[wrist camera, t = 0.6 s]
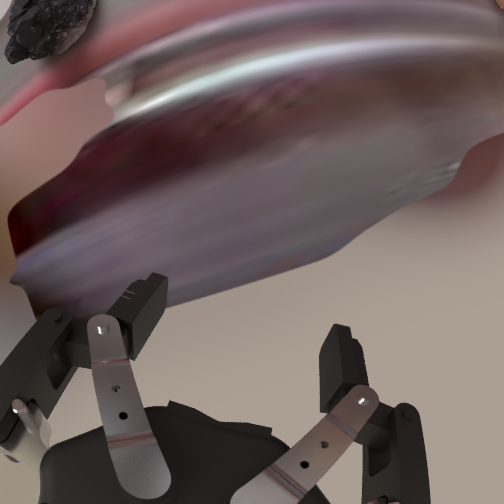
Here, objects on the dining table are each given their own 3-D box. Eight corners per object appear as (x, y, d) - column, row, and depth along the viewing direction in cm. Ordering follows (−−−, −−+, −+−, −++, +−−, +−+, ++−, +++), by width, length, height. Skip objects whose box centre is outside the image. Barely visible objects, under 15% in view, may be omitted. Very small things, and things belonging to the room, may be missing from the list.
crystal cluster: (82, -42, 17) (33, -53, 9) (117, 8, 22) (62, -1, 14) (27, 22, 22) (-22, 27, 14) (54, 75, 28) (1, 87, 20)
